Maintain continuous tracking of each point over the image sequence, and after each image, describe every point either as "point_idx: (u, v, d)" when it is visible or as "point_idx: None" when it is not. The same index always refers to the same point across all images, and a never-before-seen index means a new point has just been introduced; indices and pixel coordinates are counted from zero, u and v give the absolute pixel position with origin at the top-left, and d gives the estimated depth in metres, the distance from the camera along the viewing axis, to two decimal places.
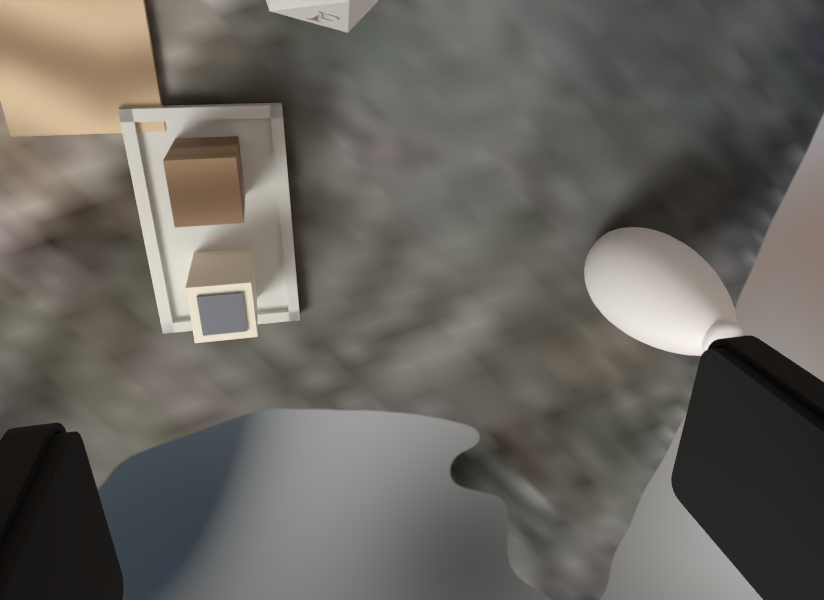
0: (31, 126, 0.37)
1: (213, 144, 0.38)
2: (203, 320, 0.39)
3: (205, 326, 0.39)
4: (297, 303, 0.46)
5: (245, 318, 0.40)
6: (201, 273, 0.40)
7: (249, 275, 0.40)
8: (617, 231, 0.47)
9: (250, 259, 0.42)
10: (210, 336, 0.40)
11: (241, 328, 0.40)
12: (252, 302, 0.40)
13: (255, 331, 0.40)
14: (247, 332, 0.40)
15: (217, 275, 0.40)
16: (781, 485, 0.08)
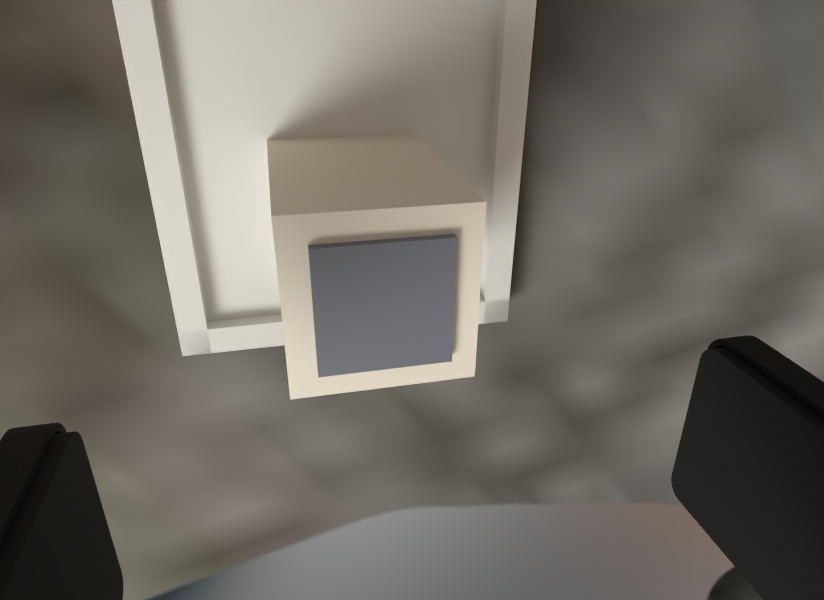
0: None
1: None
2: (324, 329, 0.12)
3: (329, 349, 0.12)
4: (508, 281, 0.19)
5: (451, 320, 0.13)
6: (309, 179, 0.13)
7: (463, 185, 0.13)
8: None
9: (432, 152, 0.15)
10: (339, 379, 0.13)
11: (436, 352, 0.13)
12: (478, 270, 0.12)
13: (471, 361, 0.13)
14: (448, 364, 0.13)
15: (363, 185, 0.12)
16: (781, 485, 0.08)
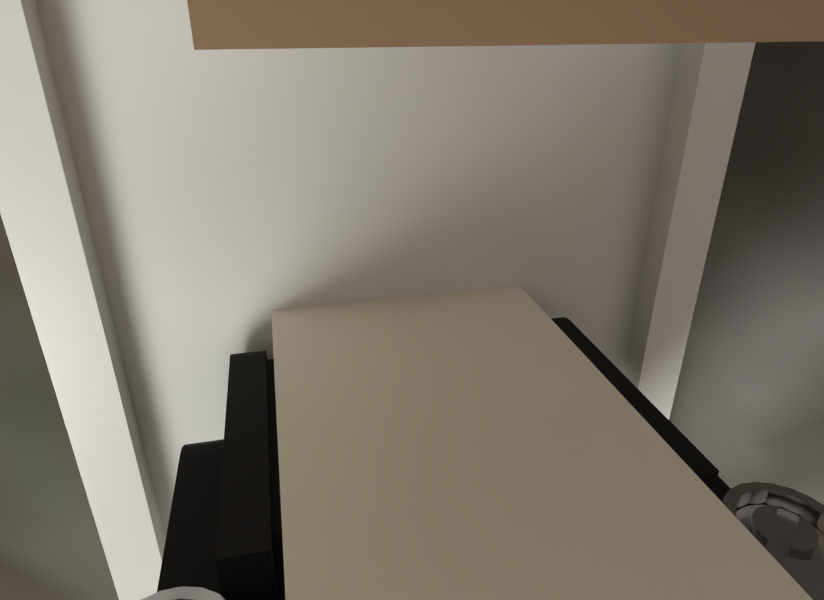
0: None
1: None
2: None
3: None
4: None
5: None
6: (365, 473, 0.06)
7: (707, 499, 0.06)
8: None
9: (575, 351, 0.08)
10: None
11: None
12: None
13: None
14: None
15: (490, 506, 0.06)
16: None
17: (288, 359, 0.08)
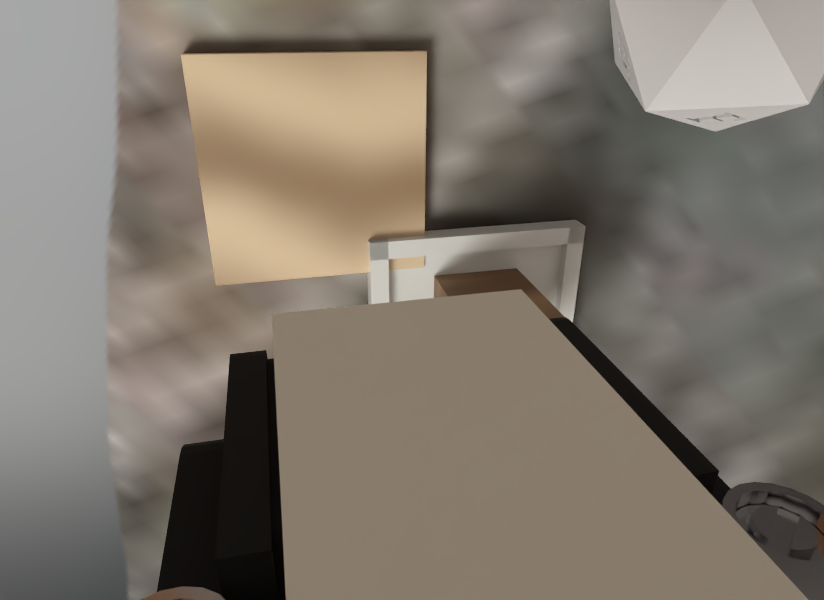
0: (245, 271, 0.26)
1: None
2: None
3: None
4: None
5: None
6: (367, 478, 0.06)
7: (709, 505, 0.06)
8: None
9: (576, 355, 0.08)
10: None
11: None
12: None
13: None
14: None
15: (492, 512, 0.06)
16: None
17: (289, 363, 0.08)
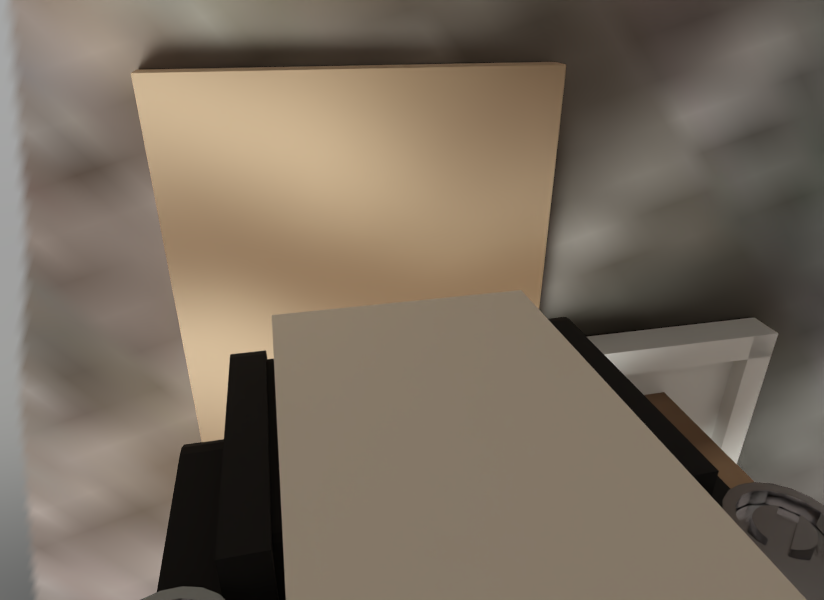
0: None
1: None
2: None
3: None
4: None
5: None
6: (366, 479, 0.06)
7: (708, 506, 0.06)
8: None
9: (576, 356, 0.08)
10: None
11: None
12: None
13: None
14: None
15: (491, 514, 0.06)
16: None
17: (289, 364, 0.08)
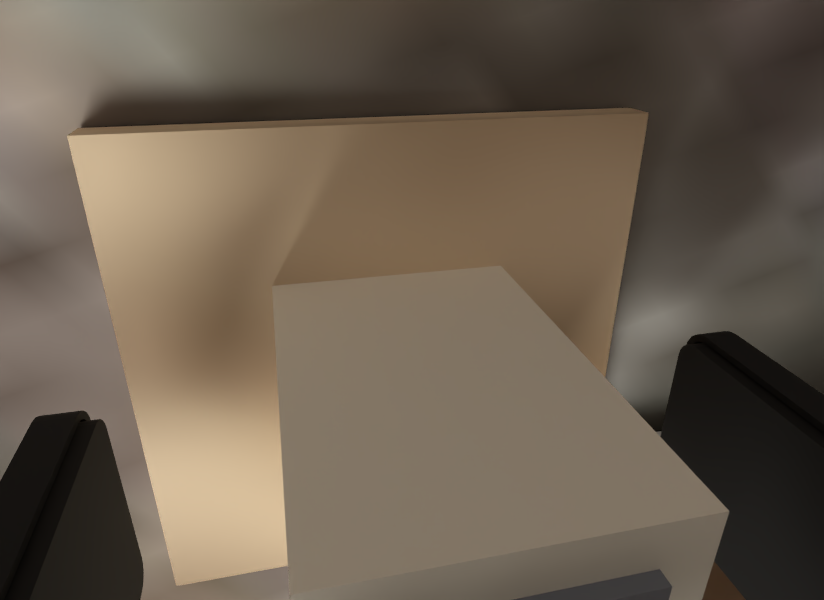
0: (238, 555, 0.12)
1: None
2: None
3: None
4: None
5: None
6: (354, 415, 0.07)
7: (649, 436, 0.07)
8: None
9: (546, 320, 0.09)
10: None
11: None
12: None
13: None
14: None
15: (461, 441, 0.07)
16: (755, 478, 0.08)
17: (287, 326, 0.09)
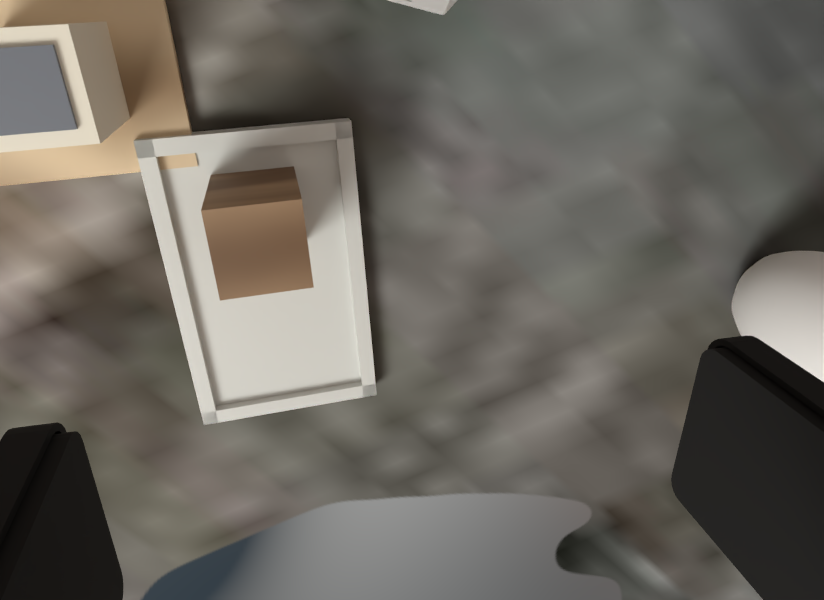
0: (18, 172, 0.28)
1: (264, 180, 0.28)
2: None
3: None
4: (373, 374, 0.36)
5: (70, 102, 0.22)
6: None
7: (73, 23, 0.22)
8: (783, 258, 0.36)
9: (93, 22, 0.24)
10: (8, 141, 0.22)
11: (63, 122, 0.22)
12: (78, 69, 0.21)
13: (94, 132, 0.22)
14: (79, 134, 0.22)
15: None
16: (781, 485, 0.08)
17: None
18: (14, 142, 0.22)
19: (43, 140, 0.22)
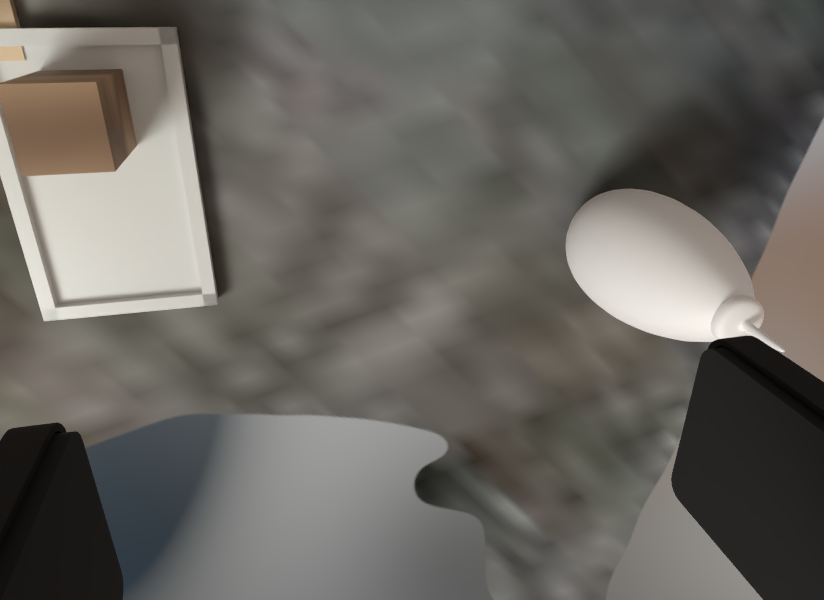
0: None
1: (81, 73, 0.30)
2: None
3: None
4: (212, 284, 0.38)
5: None
6: None
7: None
8: (604, 193, 0.39)
9: None
10: None
11: None
12: None
13: None
14: None
15: None
16: (781, 485, 0.08)
17: None
18: None
19: None
